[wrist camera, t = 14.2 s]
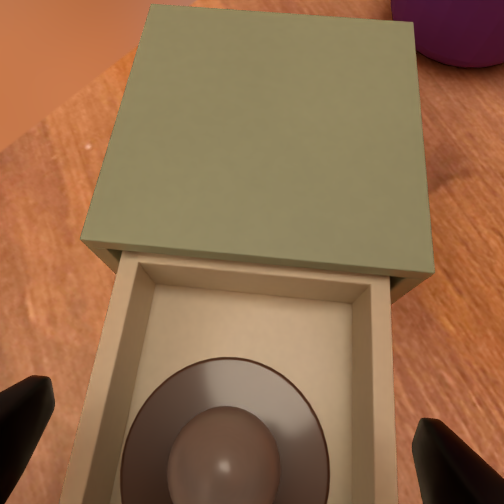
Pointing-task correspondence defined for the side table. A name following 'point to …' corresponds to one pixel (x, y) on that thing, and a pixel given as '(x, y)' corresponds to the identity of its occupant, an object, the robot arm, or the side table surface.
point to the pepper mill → (225, 440)
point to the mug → (456, 30)
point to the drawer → (249, 347)
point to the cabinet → (269, 146)
